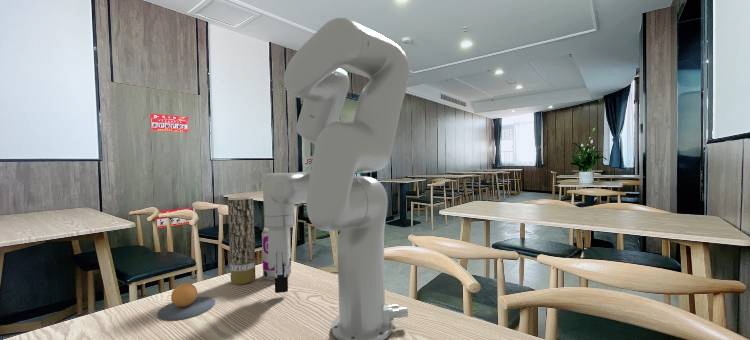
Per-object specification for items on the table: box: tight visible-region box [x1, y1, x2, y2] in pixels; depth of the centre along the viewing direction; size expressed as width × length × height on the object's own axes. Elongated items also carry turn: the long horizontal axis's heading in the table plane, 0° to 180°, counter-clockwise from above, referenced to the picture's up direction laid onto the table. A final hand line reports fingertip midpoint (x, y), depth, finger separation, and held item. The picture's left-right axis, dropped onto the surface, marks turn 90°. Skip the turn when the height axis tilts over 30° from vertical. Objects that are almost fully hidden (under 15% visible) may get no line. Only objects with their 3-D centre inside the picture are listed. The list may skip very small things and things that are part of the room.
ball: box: [170, 282, 198, 307], centre depth 78 cm, size 6×6×6 cm
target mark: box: [157, 296, 216, 322], centre depth 77 cm, size 12×12×1 cm
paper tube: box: [227, 194, 257, 286], centre depth 93 cm, size 7×7×25 cm
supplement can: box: [261, 227, 292, 281], centre depth 97 cm, size 8×8×15 cm
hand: (281, 291), depth 82 cm, fingers closed
